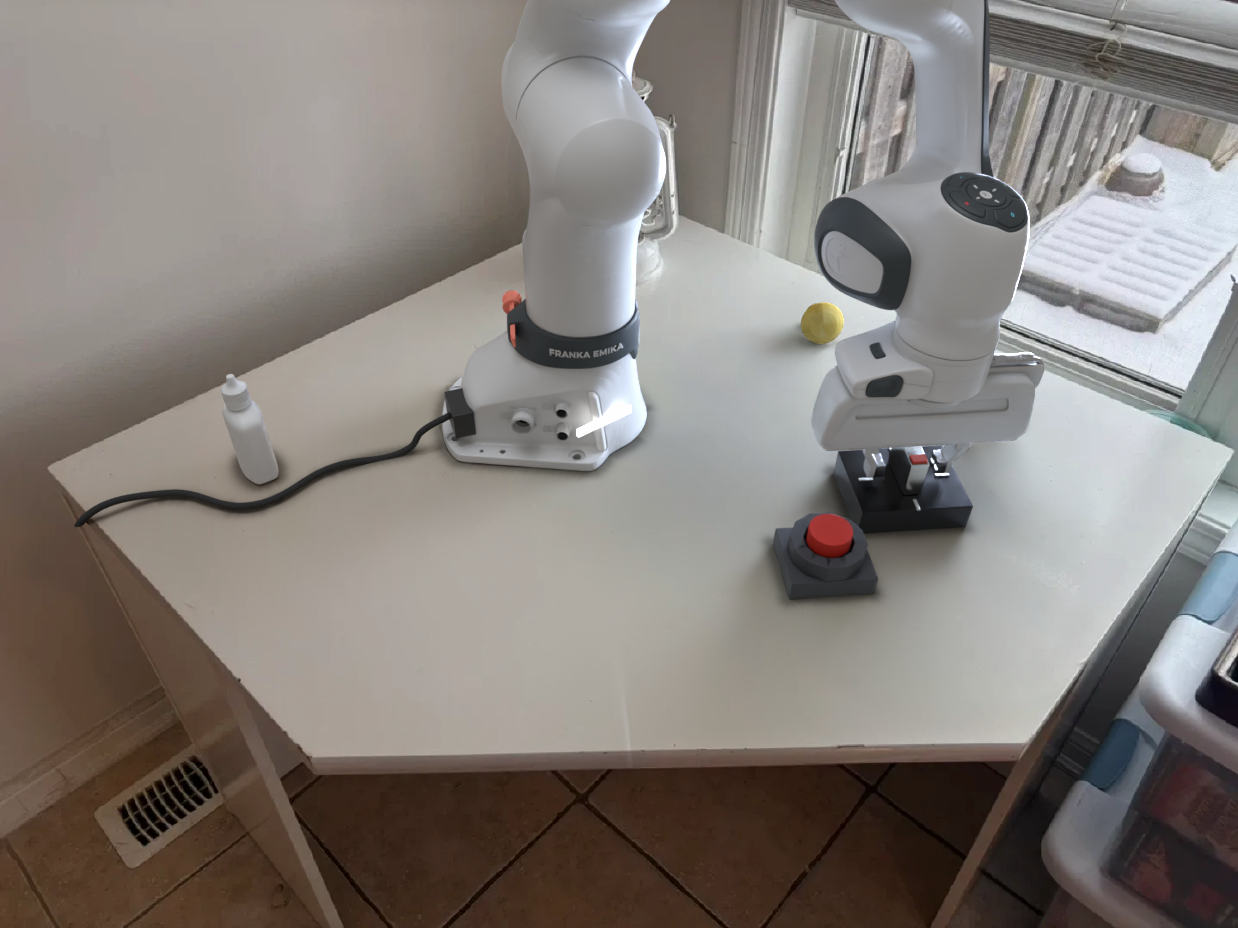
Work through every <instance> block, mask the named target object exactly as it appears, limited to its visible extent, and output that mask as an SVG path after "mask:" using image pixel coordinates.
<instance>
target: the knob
mask: <svg viewBox="0 0 1238 928" xmlns="http://www.w3.org/2000/svg"><path fill="white" fill-rule="evenodd" d="M844 324H845V317H844V315H843V312H842V310H841V309H840V308H839V307H838V306H837V305H835V304H833V303H831V302H825V301H824V302H823V301H822V302H815V303H813V304H811V305H808V307H807V309H806V310H805V311H804V313H803V314H802V317H801V319H800V330H801V332H802V333H801V334H803V336H804V338H805V339H806V340H808V342H811V343H814V344H818V345H824V344H829V343H831V342H833V341H835V340H836V339H837V338H838V337H839V336H840V335H841V333H842V331H843V329H844Z"/></svg>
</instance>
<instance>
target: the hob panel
mask: <svg viewBox="0 0 1238 928" xmlns="http://www.w3.org/2000/svg"><path fill="white" fill-rule="evenodd" d="M921 447H922V449H923V451H924V453H925V455H926V457H927V459H928V462H929V464H930V459H931V458H932V456H931V455H932V452H933V450H941V449H942V448H943V445H929V446H921ZM890 451H891V448H880V449H879V452H878V454H881V456H882V460H883V461H884V463H885V465H886V467H885V470H884V471H883V476H882V477H872V478H867V476H866V473H865V471H864V461H865V456H864V454H863V451H862V449H860V450H842V451H837V454H836V455H837V456H836V458H835V459H836V460H835V463H834V467H833V468H834V469H833V475H834V477H835V479H836V482H837V484H838V487H839V491H840V493H841V496H842V498H843V500H844V504H845V506H846V508H847V511H848V514H849V517H850V520H851V521H852V522H853V523H855V524H856V523H857V524H858V527H859V528H861V529H862V531H863V533H864V535H866V534H880V533H881V534H882V533H897V532H899V533H900V532H913V531H929V530H930V531H931V530H945V529H946V530H947V529H960V528H963V529H964V528H966V527H967V524H968V521H969V519H970V516H971V513H972V510H973V508H974V505H973V503H972V501H971V500H970V497H969V495H968V494H967V491H966V489H965V488H964V486H963V484H962V482H961V480H960V477H959V476H958V474H957V472H956V471H955V468H954V466H953V465H952V467H951V470H950V472H949V473H936V474H935V473H933V469H932V468H931V467H930V465H929V468H928V472H927V475H926V478H925V481H924V484H923V488H922V491H921V494H912V495H903V494H902V491H901V489H900V487H899V485H898V482H897V480H896V478H895V476H894V474H893V471H892V469H891V467H890V465H889V462H888V459H889V455H890Z"/></svg>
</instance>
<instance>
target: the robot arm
mask: <svg viewBox="0 0 1238 928" xmlns="http://www.w3.org/2000/svg"><path fill="white" fill-rule="evenodd" d="M833 1H834V3H835V4H836V5H837V6H838V8H839V9H840V10H841V11H842V12H843V13H844V15H846V16H847V18H849V19H850V20H851V21H852V22H854V23H856V24H857V25H859V26H860V27H862V28H864V29H866V30H868V31H871V32H873V33H877V34H879V35H883V36H886V37H889V38H893V39H895V40H897V41H899V42H900V43H902V45H904V47H905V48H906V50H907V51H908V53H909V55H910V57H911V60H912V65H913V71H914V94H915V95H914V97H915V101H914V103H915V130H916V131H915V132H916V133H915V134H916V141H915V147H914V149H913V152H912V154H911V156H910V157H909V159H908V160H907V162H906V163H905V164H904V165H903V167H902V168H900V169H899V170H897V171H894V172H892V173H890V174H888V175H885V176H883V177H881V178H878V179H875V180H872V181H869V182H867V183H864V184H862V185H860V186H858V187H855V188H853V189H851V190H849V191H847V192H845V193H842V194H841V195H839V196H837V197H836V198H834V199H832V200H829V202H827V204H825V206H823V209H822V210H821V211H820V214H819V215H818V218H817V220H816V224H815V228H814V237H813V246H814V247H813V248H814V254H815V259H816V263H817V265H818V268H819V270H820V272H821V273H822V275H823V277H824V278H825V280H826V281H827V282H828V283H829V284H830V285H831V286H832V287H833V288H835V289H836V291H838V292H840V293H842V294H843V295H846V296H847V297H850V298H852V299H854V300H856V301H859V302H861V303H863V304H866V305H869V306H871V307H874V308H878V309H880V310H884V311H894V312H895V314H896V317H895V320H893V321H891V322H888V323H886V324H884V325H881V326H879V327H876V328H874V329H871V330H868V331H865V332H862V333H858V334H855V335H853V336H852V335H851V336H849V337H846V338H843V339H841V340H840V341H838V342H837V343H836V345H835V348H834V358H835V362H836V365H835V366H833V367H832V368H830V370H829V371H827V373H826V375H825V376H824V377H823V380H822V382H821V384H820V387H819V390H818V392H817V396H816V399H815V402H814V406H813V411H812V415H811V428H812V432H813V435H814V438H815V440H816V442H817V444H818V445H819V446H820V447H821V449H823V450H824V451H825V452H838V451H848V450H862V451H863V454H864V456H865V461H864V471H865V473H866V476H867V478H872V477H882V476H883V471H884V470H885V467H886V465H885V463H884V461H883V460H882V456H881V454H878V452H879V449H884V448H895V447H912V446H938V445H942V447H943V448H942V449H941V450H933V452H932V455H931V456H932V458H931V459H930V467H931V468H932V469H933V473H935V474H936V473H949V472H950V470H951V467H952V466H953V463H954V462H956V461H957V460H958V459H959V458H960V457H962V455H964V454H965V453H966V452H968V450H969V449H970V447H971V445H972V444H979V443H995V442H996V443H997V442H1013V441H1016V440H1018V439H1019V438H1021V437H1022V436H1023V435H1024V434H1026V433H1027V431H1028V429H1029V425H1030V423H1031V418H1032V414H1033V410H1034V404H1035V400H1036V399H1035V397H1036V389H1037V388H1038V386H1039V385H1040V384H1041V381H1042V379H1043V375H1044V372H1045V364H1044V361H1043V360H1042V359H1041V358H1040V357H1038V356H1035V355H1034V353H1032V352H1028V351H1027V352H1025V351H1024V352H1022V351H1021V352H1017V353H996V350H997V348H998V345H999V342H1000V336H1001V320H1002V318H1003V316H1004V314H1005V313H1006V312H1007V310H1008V309H1009V308H1010V306H1011V304H1012V303H1013V300H1014V297H1015V294H1016V291H1017V288H1018V284H1019V281H1020V278H1021V275H1022V271H1023V268H1024V263H1025V261H1026V260H1025V259H1026V255H1027V250H1028V244H1029V239H1030V225H1031V223H1030V214H1029V213H1030V212H1029V210H1028V206H1027V203H1026V201H1025V200H1024V198H1023V197H1022V196H1021V194H1019V193H1018V192H1017V191H1016V190H1015V189H1014V188H1013V187H1011V186H1010V185H1009V184H1007V183H1005V182H1004V181H1002V180H1000V179H998V178H996V177H994V172H993V168H992V162H991V155H990V145H989V144H990V143H989V126H990V125H989V124H990V123H989V122H990V121H989V119H990V118H989V117H990V71H991V70H990V66H991V65H990V63H991V61H990V60H991V43H990V42H991V32H990V31H991V27H990V26H991V23H990V9H989V0H833ZM670 2H671V0H526V3H525V6H524V9H523V11H522V15H521V18H520V20H519V24H518V28H517V31H516V34H515V38H514V41H513V43H512V44H511V45H510V47H509V49H508V50H507V52H506V54H505V57H504V58H503V59H504V60H503V63H502V66H501V67H502V68H501V78H500V79H501V81H500V82H501V84H500V85H501V86H500V87H501V101H502V107H503V111H504V115H505V117H506V119H507V121H508V124H509V125H510V127H511V130H512V131H513V133H514V135H515V138H516V139H517V142H518V144H519V147H520V149H521V151H522V155H523V158H524V162H525V165H526V169H527V175H528V180H529V181H528V182H529V206H528V217H527V225H526V228H525V230H524V232H523V234H522V237H521V247H522V248H521V249H522V261H523V279H524V293H525V294H524V295H525V297H524V299H523V300H522V295H521V294H520V293H519V292H518V291H517V290H514V289H513V290H512V289H511V290H507V291H505V292H504V294H502V298H501V300H502V305H501V306H502V307H501V308H502V310H503V312H504V313H505V314H506V331H505V332H503V333H501V334H499V335H498V336H497V337H495V338H493V339H491V340H490V341H488V342H487V343H485V344H483V345H482V346H480V347H478V348H477V349H475V350H474V351H473V352H472V353H471V355H470V356H469V358H468V359H467V362H466V365H465V368H464V371H463V374H462V376H460V377H459V378H458V379H457V380H455V382H454V383H453V384H452V385H451V387H450V388H449V389H448V390H446V391H444V392H443V393H444V402H443V406H442V415H440V416H438V417H436V418H435V419H432V420H430V421H429V422H427V423H426V424H424V425H422V426H421V427H420V428H419V429H418V430H417V431H416V432H415V434H414V435H413V437H412V439H411V442H410V443H408V444H407V445H405V446H404V447H402V448H400V449H397V450H395V451H391V452H388V453H384V454H380V455H372V456H364V457H354V458H350V459H344V460H339V461H336V462H333V463H330V464H327V465H325V466H323V467H321V468H318V469H317V470H314V471H312V472H311V473H309V474H308V475H305V476H304V477H303V478H301V479H299V480H298V481H296V482H295V483H293V484H291V485H290V486H288V487H287V488H284V489H283V490H282V491H279V492H278V493H276V494H273V495H270V496H267V497H265V498H262V499H258V500H253V501H243V502H235V501H227V500H222V499H219V498H215V497H213V496H209V495H207V494H204V493H201V492H197V491H193V490H188V489H175V488H173V489H160V490H159V489H158V490H149V491H142V492H141V491H140V492H134V493H133V492H132V493H127V494H124V495H118V496H114V497H112V498H109V499H105V500H104V501H101V502H98V503H97V504H95V505H93V506H92V507H90V508H89V509H87V510H86V511H85V512H84V513H83V514H82V515H80V516H79V518H78V519H76V521H75V523H74V525H73V527H74V528H80V527H82V526H84V525H85V524H86V523H87V522H88V521H89V520H90V519H91V518H92V517H93V516H95V515H97V514H98V513H100V512H102V511H103V510H106V509H108V508H110V507H114V506H117V505H120V504H125V503H129V502H134V501H142V500H149V499H160V498H170V497H171V498H172V497H175V498H176V497H178V498H187V499H192V500H195V501H199V502H202V503H204V504H208V505H212V506H214V507H218V508H221V509H227V510H235V511H246V510H255V509H258V508H264V507H267V506H270V505H272V504H275V503H277V502H280V501H282V500H283V499H286V498H287V497H289V496H291V495H292V494H294V493H296V492H297V491H299V490H300V489H302V488H303V487H305V486H307V485H308V484H309V483H311V482H313V481H315V480H317V479H318V478H320V477H322V476H325V475H326V474H328V473H329V474H330V473H331V472H334V471H337V470H340V469H343V468H348V467H354V466H361V465H367V464H373V463H379V462H383V461H388V460H392V459H397V458H400V457H403V456H405V455H407V454H408V453H410V452H412V451H413V450H415V448H417V446H418V444H419V442H420V440H421V438H422V437H423V436H424V435H426V433H428V432H429V431H430V430H432V429H434V428H436V427H438V426H439V425H440V426H442V427H441V429H442V438H443V441H444V444H445V447H446V449H447V450H448V452H449V453H450V454H451V456H453V458H454V459H455V460H457V461H458V462H463V463H472V464H486V465H498V466H499V465H500V466H512V467H513V466H514V467H526V468H538V469H553V470H564V471H578V472H592V471H595V470H597V469H598V468H600V467H601V465H602V464H603V463H604V462H606V460H607V459H608V457H609V456H610V455H611V454H613V453H615V452H616V451H618V450H620V449H622V448H624V447H625V446H627V445H628V444H630V443H631V442H633V440H635V439H636V438H637V437H638V436H639V435H640V434H641V432H642V430H643V429H644V427H645V425H646V422H647V417H648V410H647V405H646V403H645V400H644V397H643V393H642V390H641V386H640V380H639V374H638V367H637V366H638V365H637V357H638V352H639V347H640V338H641V337H640V336H641V335H640V334H641V314H640V311H639V304H638V301H637V299H636V286H637V284H636V282H637V257H638V255H637V254H638V241H639V235H640V231H641V226H642V222H643V219H644V215H645V212H646V211H647V210H648V209H649V208H650V206H651V205H652V204H653V203H654V202H655V200H656V199H657V198H658V196H659V194H660V192H661V190H662V188H663V187H662V186H663V184H664V182H665V178H666V171H667V159H666V153H665V150H664V145H663V141H662V136H661V134H660V131H659V126H658V125H657V121H656V119H655V116H654V115H653V113H652V110H651V109H650V108H649V107H648V105H647V104H646V103H645V101H644V100H643V99H642V97H641V96H640V95H639V93H638V92H637V91H636V89H635V88H634V87H633V68H634V63H635V59H636V57H637V54H638V52H639V49H640V47H641V45H642V43H643V40H644V38H645V37H646V35H647V32H648V30H649V29H650V26H651V24H652V23H653V22H654V20H655V18H656V16H657V15H658V14H659V13H660V12H661V11H663V10H664V9H665V8H667V6H668V5H669V3H670ZM441 424H442V425H441Z"/></svg>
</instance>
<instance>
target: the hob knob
mask: <svg viewBox="0 0 1238 928" xmlns="http://www.w3.org/2000/svg"><path fill="white" fill-rule="evenodd" d="M888 462H889V465H890V467H891V469H892V471H893V474H894V476H895V478H896V480H897V482H898V485H899V487H900V489H901V491H902V494H903V495H912V494H921V491H922V488H923V484H924V481H925V478H926V475H927V472H928V468H929V465H930V464H929V462H928V459H927V457H926V455H925V453H924V451H923V449H922V447H921V446H912V447H895V448H891V451H890V455H889V459H888Z"/></svg>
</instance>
